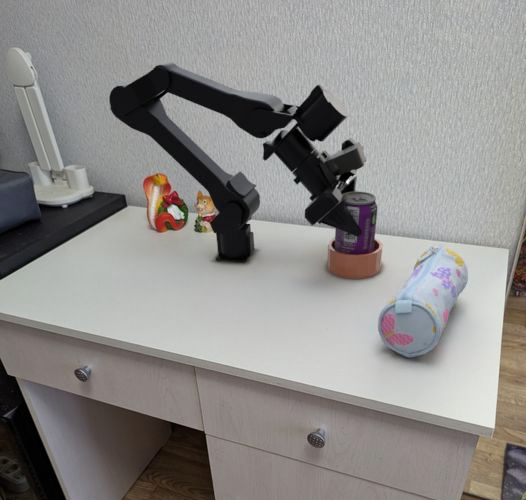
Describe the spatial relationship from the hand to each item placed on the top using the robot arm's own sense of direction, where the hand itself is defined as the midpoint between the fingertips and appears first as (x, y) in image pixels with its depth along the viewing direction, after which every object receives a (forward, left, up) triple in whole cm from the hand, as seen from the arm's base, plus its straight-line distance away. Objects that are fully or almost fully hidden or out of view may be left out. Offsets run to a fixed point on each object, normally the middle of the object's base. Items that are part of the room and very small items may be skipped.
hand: (363, 227), depth 88 cm
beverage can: (-1, 0, -7) cm, 7 cm away
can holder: (-1, 0, -8) cm, 8 cm away
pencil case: (+12, -18, -8) cm, 23 cm away
